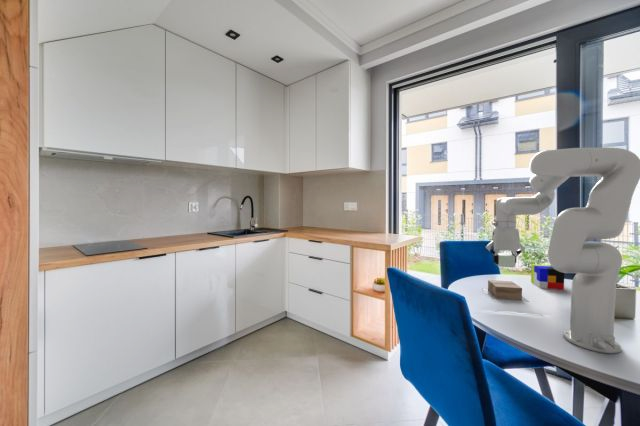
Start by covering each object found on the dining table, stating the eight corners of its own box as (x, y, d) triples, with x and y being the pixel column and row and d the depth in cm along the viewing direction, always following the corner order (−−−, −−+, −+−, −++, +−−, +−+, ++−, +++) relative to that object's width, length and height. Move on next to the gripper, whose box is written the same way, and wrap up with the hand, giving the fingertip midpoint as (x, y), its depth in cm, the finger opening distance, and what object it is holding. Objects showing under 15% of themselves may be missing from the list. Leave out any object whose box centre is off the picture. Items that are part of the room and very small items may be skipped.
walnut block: (521, 299, 116) (522, 288, 116) (495, 297, 119) (496, 286, 119) (511, 291, 126) (512, 281, 126) (487, 290, 129) (488, 280, 128)
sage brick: (514, 267, 118) (515, 256, 118) (499, 266, 120) (499, 255, 120) (509, 264, 124) (509, 253, 124) (494, 263, 126) (494, 252, 126)
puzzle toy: (539, 287, 135) (540, 268, 135) (531, 282, 145) (531, 263, 144) (563, 289, 132) (564, 269, 132) (553, 283, 142) (554, 265, 141)
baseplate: (529, 304, 114) (529, 301, 114) (492, 301, 118) (492, 298, 118) (514, 293, 127) (514, 290, 127) (481, 291, 131) (481, 288, 131)
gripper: (487, 225, 120) (486, 265, 121) (532, 226, 115) (530, 267, 116) (481, 223, 127) (480, 261, 128) (523, 224, 122) (522, 263, 123)
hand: (504, 263), depth 122 cm, fingers closed on sage brick, 6 cm apart
